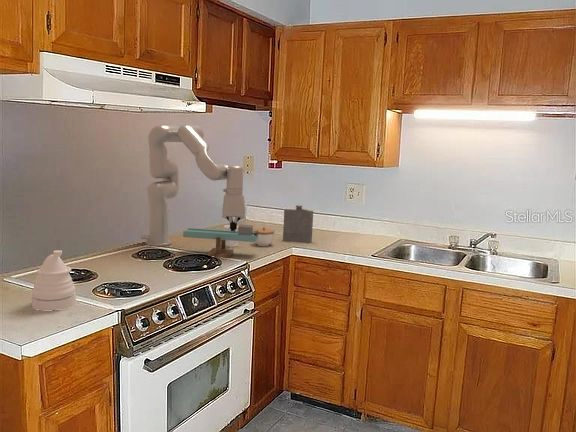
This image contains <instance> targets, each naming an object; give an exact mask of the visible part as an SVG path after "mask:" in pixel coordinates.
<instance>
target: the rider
mask: <svg viewBox="0 0 576 432" xmlns="http://www.w3.org/2000/svg"><path fill="white" fill-rule="evenodd" d="M237 226H238V235H251V236H252V235H253V230H254V225H251V224H240V225H237Z"/></svg>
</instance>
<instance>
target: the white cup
mask: <svg viewBox="0 0 576 432" xmlns="http://www.w3.org/2000/svg"><path fill="white" fill-rule="evenodd" d="M238 226H239V225H237V229H236V230H235V231H238ZM223 230H228V231H231V229H230V224H227V225H226V224H225V225H224V226H223ZM238 244H239V241H231V240H226V248H230V247H231V248H233V247H234V248H235V247H237V246H238Z"/></svg>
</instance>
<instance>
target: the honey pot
mask: <svg viewBox="0 0 576 432" xmlns="http://www.w3.org/2000/svg"><path fill="white" fill-rule="evenodd" d="M62 254H63V250H61V249H60V250H57V249H56V250H53V254H50V255H47V257H46V258H45V259H44V261H43V262H42V265H41V267H40V268H38V269H37V270H36V273H37V276H36V279H35V280H34V282H35V283H34V284H33V287H32V290H31V307H32V306H33V307H34V308H36V309H39V310H56V309H64V308H68V307H71V306H73V305H74V304H75V303H76V304H77V299H76V298H77V295H76V289H77V287H76V286H75V285H74V281H73V278H72V276H71V275H70V272H71V271H72V267H70V266H68V265H66V264H65V262H64V260H63V259H61V256H62ZM76 304H75V305H76ZM75 305H74V306H75ZM74 306H73V307H74ZM33 307H32V308H33ZM71 308H72V307H71ZM68 309H69V308H68Z"/></svg>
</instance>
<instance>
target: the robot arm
mask: <svg viewBox="0 0 576 432" xmlns="http://www.w3.org/2000/svg"><path fill="white" fill-rule="evenodd" d="M147 138H148V139H147V141H148V151H149V154H148V157H149V158H148V159H149V160H148V161H149V165H148V166H149V174H150V176H151V177H152V178H154V179H159V181H158V180H157V181H153V182H151V183H150V184H148V186H147V188H146V195H147V196H146V197H147V202H148V233H147V234H141V235H140V238H141V240H145V244H146V245H147V246H152V247H162V246H163V247H165V246H169V245H171V244H172V240H171V239H169V206H168V203H167V200H170V199H174V198H175V197H177V195H178V193H179V167H178V164H177V163H176V161H174V160H173V159H170V158H168V151H167V146H166V144H165V143H182V144H183V145H184V146H185V147H186V149H188V150H189V152H191V154H192V155H193V156H194V159H195V163H196V165H197V167H198V169H199V170H200V171H201V172H202V174H203V175H204V176H205V177H206V178H207V179H209V180H210V181H213V182H214V181H215V182H216V181H224V180H225V181H226V187H225V188H223V189H222V191H223V193H225V194H224V195H223V199H222V200H223V203H222V215H221V217H222V218H223V219H226V220H227V221H228V222H229V225H230V229H231V231H235V230H236V229H237V226H238V222H239V221H241V220H245V219H246V215H245V213H246V206H245V205H246V204H245V195H244V193H243V192H244V191H243V190H244V189H243V187H244V185H243V184H244V168H243V166H242V165H236V164H235V165H234V164H232V165H231V164H227V163H214V162H213V160H212V159H211V158H210V157H209V155H208V151H209V148H210V145H209V144H208V142H207V141H206V140H205V139H204V131H203V129H202V128H201V126H200V125H196V124H183V125H181V124H180V125H179V124H157V125H155V126H154V127H153V128H150V131H149V133H148V136H147ZM160 179H162V180H160Z"/></svg>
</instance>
